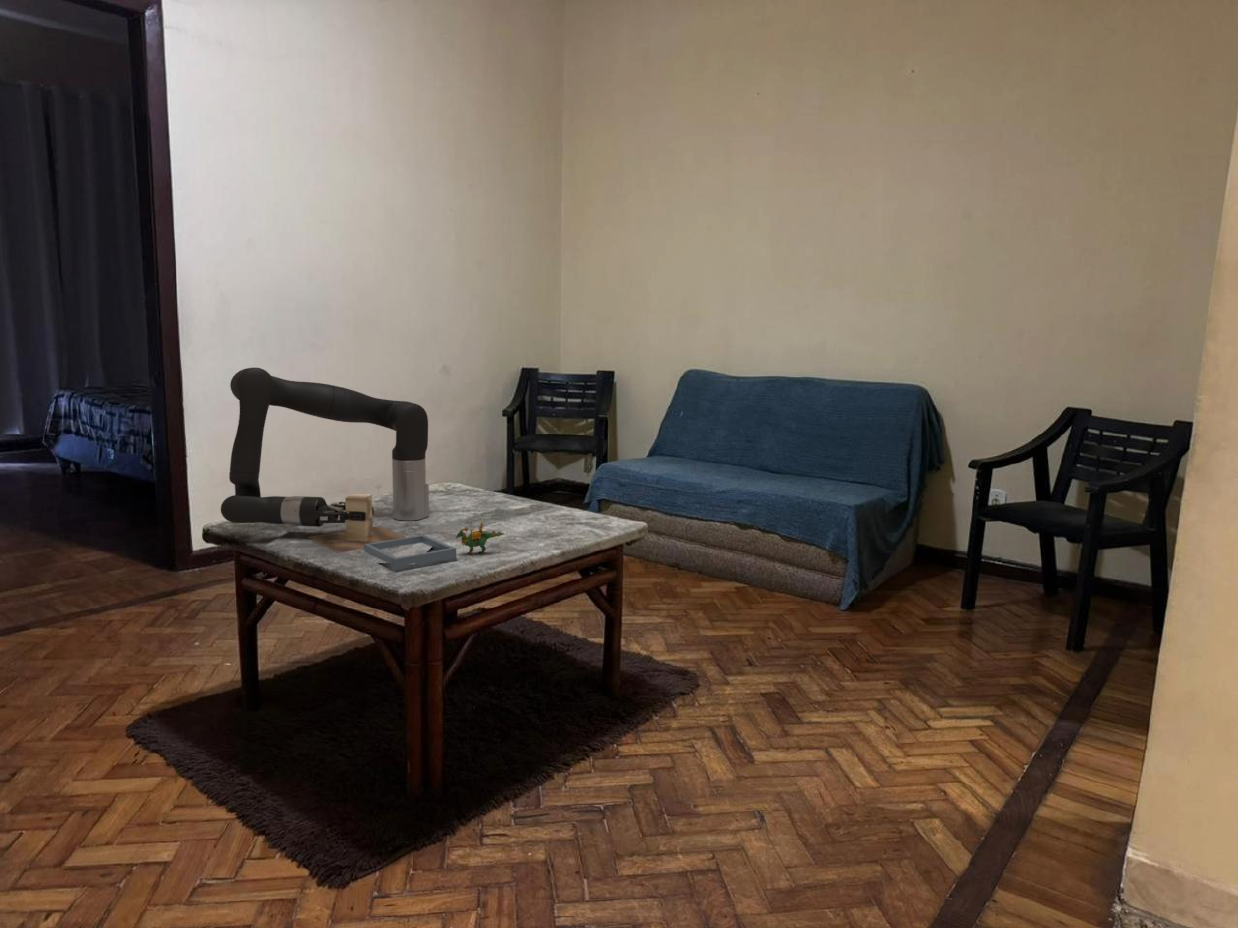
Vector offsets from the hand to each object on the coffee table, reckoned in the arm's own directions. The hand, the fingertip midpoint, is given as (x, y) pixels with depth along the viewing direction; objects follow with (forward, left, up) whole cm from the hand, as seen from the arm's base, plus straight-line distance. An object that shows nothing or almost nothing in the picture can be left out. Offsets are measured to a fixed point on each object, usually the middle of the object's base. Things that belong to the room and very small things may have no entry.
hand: (369, 513), depth 220 cm
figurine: (-18, +23, -8) cm, 31 cm away
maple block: (+2, -2, -7) cm, 7 cm away
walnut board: (+2, -2, -8) cm, 8 cm away
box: (-2, +17, -8) cm, 19 cm away
